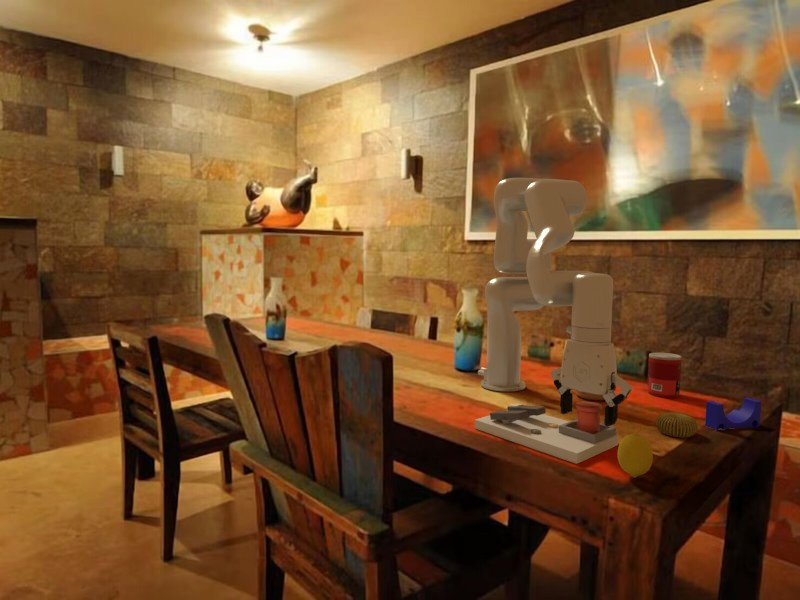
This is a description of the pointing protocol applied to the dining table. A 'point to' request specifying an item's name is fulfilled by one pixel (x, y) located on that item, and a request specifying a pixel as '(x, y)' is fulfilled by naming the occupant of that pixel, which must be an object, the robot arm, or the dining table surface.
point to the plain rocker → (509, 416)
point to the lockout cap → (588, 417)
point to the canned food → (664, 375)
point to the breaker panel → (552, 436)
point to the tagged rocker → (527, 409)
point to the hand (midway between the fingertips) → (587, 418)
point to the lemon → (635, 454)
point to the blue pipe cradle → (733, 415)
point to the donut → (589, 396)
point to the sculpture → (676, 424)
